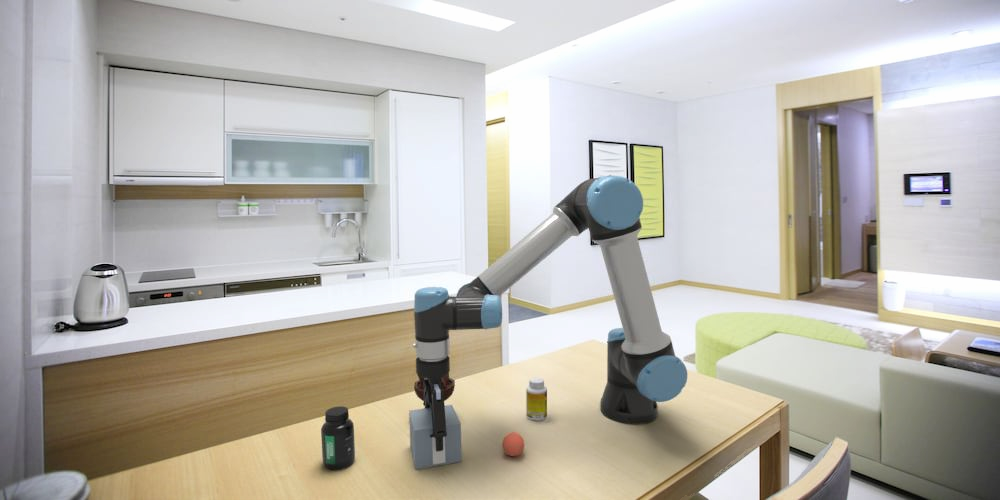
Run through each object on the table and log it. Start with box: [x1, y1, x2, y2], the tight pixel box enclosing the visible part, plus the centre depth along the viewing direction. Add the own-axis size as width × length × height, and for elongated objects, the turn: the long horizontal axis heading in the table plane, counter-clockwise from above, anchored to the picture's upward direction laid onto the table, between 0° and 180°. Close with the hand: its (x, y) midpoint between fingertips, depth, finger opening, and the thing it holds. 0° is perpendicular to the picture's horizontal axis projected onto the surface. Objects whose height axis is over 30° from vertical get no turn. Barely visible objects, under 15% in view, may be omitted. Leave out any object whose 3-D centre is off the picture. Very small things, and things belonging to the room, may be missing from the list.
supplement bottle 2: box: [525, 377, 548, 422], centre depth 124 cm, size 6×6×10 cm
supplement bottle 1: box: [320, 405, 356, 471], centre depth 103 cm, size 7×7×12 cm
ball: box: [501, 432, 525, 457], centre depth 106 cm, size 5×5×5 cm
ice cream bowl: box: [413, 372, 456, 402], centre depth 124 cm, size 11×11×15 cm
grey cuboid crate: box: [408, 404, 463, 470], centre depth 106 cm, size 10×10×9 cm
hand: (435, 450), depth 107 cm, fingers closed on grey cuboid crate, 10 cm apart
